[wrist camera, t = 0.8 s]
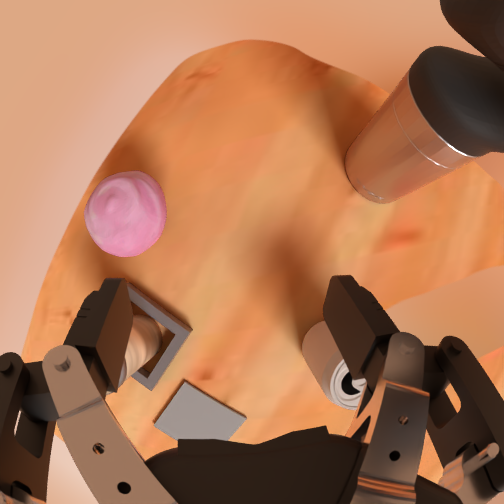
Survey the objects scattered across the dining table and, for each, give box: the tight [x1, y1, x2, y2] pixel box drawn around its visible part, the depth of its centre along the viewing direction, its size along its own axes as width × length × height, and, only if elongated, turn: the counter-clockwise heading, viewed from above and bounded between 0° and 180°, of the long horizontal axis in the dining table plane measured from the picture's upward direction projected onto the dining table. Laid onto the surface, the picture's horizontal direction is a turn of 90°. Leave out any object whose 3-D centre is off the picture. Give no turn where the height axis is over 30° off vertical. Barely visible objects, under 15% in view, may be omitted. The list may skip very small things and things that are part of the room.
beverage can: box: [302, 320, 366, 410], centre depth 25 cm, size 6×6×12 cm
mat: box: [154, 381, 247, 441], centre depth 30 cm, size 9×9×1 cm
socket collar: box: [127, 283, 193, 391], centre depth 30 cm, size 10×10×2 cm
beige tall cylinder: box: [106, 314, 162, 395], centre depth 25 cm, size 6×6×12 cm
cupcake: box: [84, 171, 167, 257], centre depth 27 cm, size 9×9×10 cm
